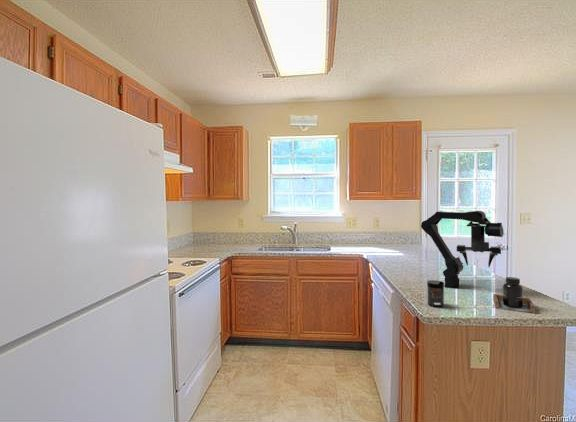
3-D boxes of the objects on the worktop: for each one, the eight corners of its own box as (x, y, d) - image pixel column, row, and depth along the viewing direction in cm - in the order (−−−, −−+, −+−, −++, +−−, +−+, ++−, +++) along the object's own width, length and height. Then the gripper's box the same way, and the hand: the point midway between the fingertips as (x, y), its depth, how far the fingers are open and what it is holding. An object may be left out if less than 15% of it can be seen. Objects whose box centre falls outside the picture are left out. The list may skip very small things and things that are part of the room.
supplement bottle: (522, 309, 122) (522, 281, 122) (502, 306, 127) (502, 278, 126) (522, 305, 128) (522, 277, 128) (503, 302, 132) (503, 275, 132)
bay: (495, 308, 126) (495, 301, 126) (493, 300, 136) (493, 293, 136) (534, 313, 119) (534, 306, 119) (529, 304, 129) (529, 297, 129)
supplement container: (440, 302, 134) (440, 280, 134) (446, 308, 127) (446, 284, 127) (425, 302, 135) (424, 280, 134) (430, 307, 128) (430, 284, 128)
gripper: (456, 236, 147) (456, 267, 147) (502, 238, 137) (502, 271, 137) (456, 234, 156) (456, 263, 157) (499, 235, 147) (499, 266, 147)
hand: (478, 266), depth 149 cm, fingers open, 9 cm apart
